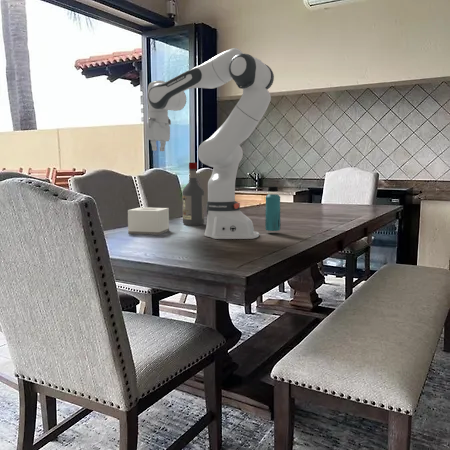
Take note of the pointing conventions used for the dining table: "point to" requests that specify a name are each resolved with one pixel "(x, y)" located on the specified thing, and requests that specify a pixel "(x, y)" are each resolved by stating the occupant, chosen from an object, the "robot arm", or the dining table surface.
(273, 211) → the beverage bottle
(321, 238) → the dining table surface
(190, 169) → the liquor
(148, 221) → the money box
